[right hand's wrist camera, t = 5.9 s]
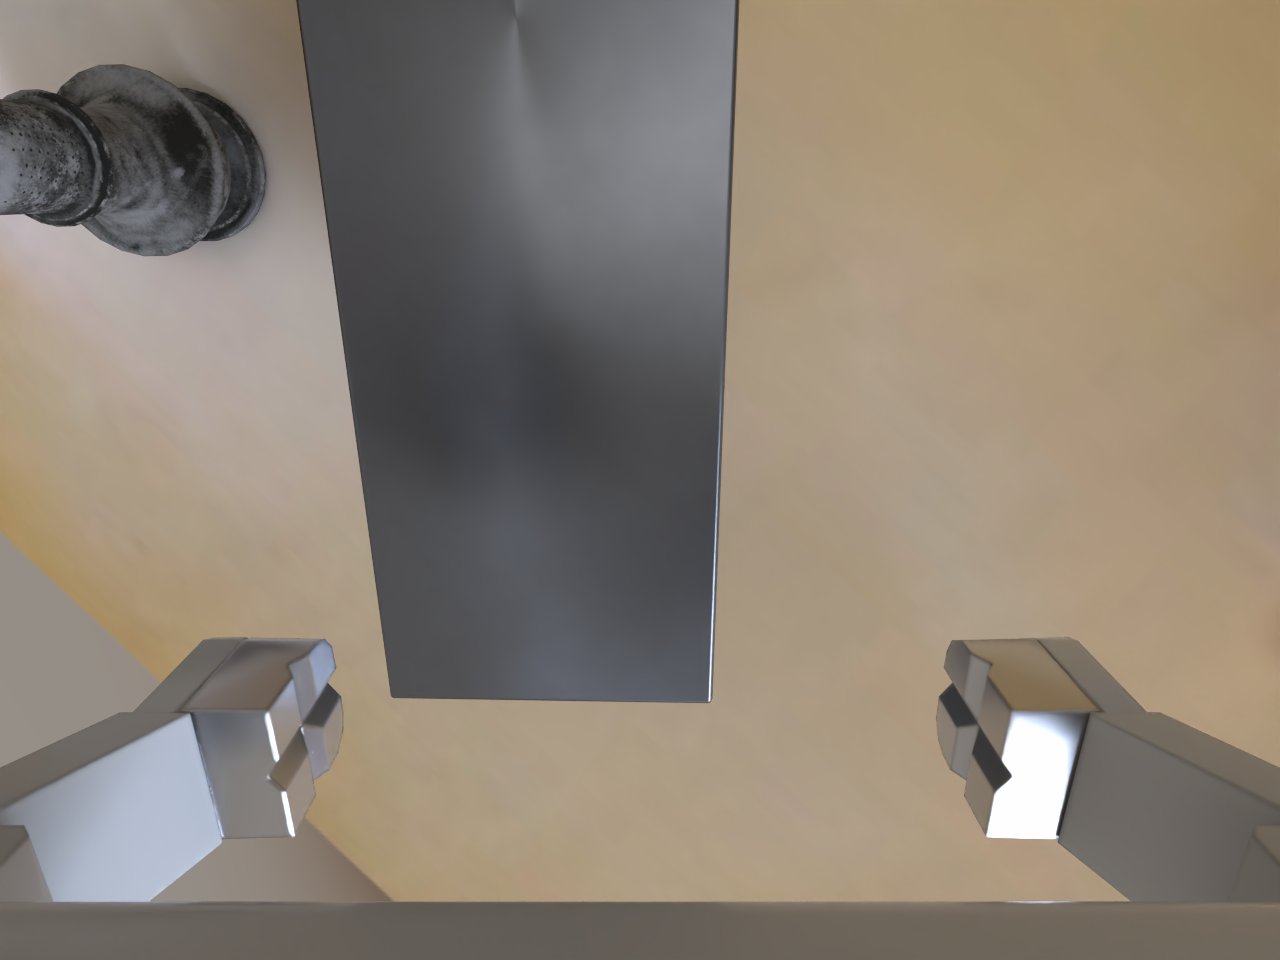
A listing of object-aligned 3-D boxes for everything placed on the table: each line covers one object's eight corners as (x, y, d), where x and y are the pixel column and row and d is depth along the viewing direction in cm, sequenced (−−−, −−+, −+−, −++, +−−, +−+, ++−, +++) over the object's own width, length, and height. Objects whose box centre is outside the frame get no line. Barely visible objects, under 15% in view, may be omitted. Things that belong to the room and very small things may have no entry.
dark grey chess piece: (90, 185, 29) (-267, 182, 18) (153, 41, 27) (-199, -61, 16) (231, 280, 30) (-21, 334, 19) (301, 148, 29) (68, 121, 17)
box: (694, 525, 23) (712, 704, 15) (483, 523, 24) (389, 699, 15) (725, -592, 15) (798, -1505, 7) (396, -585, 15) (93, -1466, 7)
